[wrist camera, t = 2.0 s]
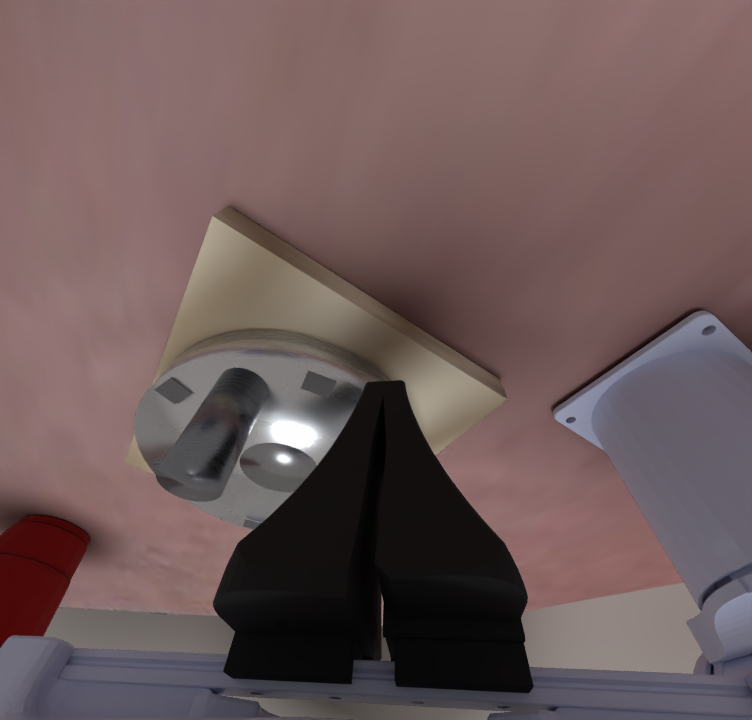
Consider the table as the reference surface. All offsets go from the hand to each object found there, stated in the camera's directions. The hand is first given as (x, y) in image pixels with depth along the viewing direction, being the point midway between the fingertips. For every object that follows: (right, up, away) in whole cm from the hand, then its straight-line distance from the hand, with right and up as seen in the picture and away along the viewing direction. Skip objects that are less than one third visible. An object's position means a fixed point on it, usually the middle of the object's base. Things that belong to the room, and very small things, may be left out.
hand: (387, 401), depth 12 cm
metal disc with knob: (-5, -3, +6) cm, 9 cm away
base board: (-5, -2, +8) cm, 10 cm away
